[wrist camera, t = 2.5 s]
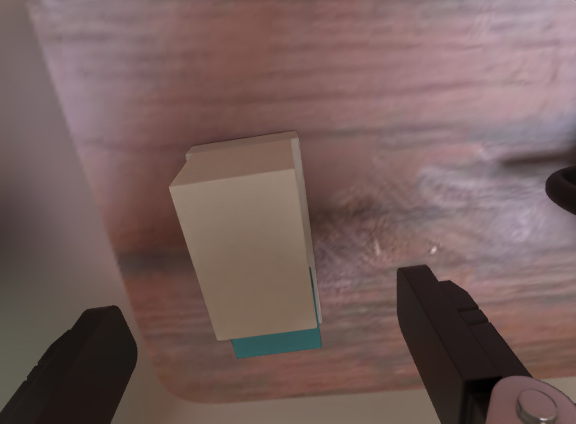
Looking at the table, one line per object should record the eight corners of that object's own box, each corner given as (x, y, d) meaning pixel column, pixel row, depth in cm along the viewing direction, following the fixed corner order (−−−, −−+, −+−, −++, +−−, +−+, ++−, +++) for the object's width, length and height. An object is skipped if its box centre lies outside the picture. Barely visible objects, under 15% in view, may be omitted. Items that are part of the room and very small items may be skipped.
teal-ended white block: (191, 145, 14) (156, 188, 10) (296, 130, 13) (306, 166, 10) (237, 317, 18) (226, 397, 14) (319, 306, 17) (332, 384, 14)
